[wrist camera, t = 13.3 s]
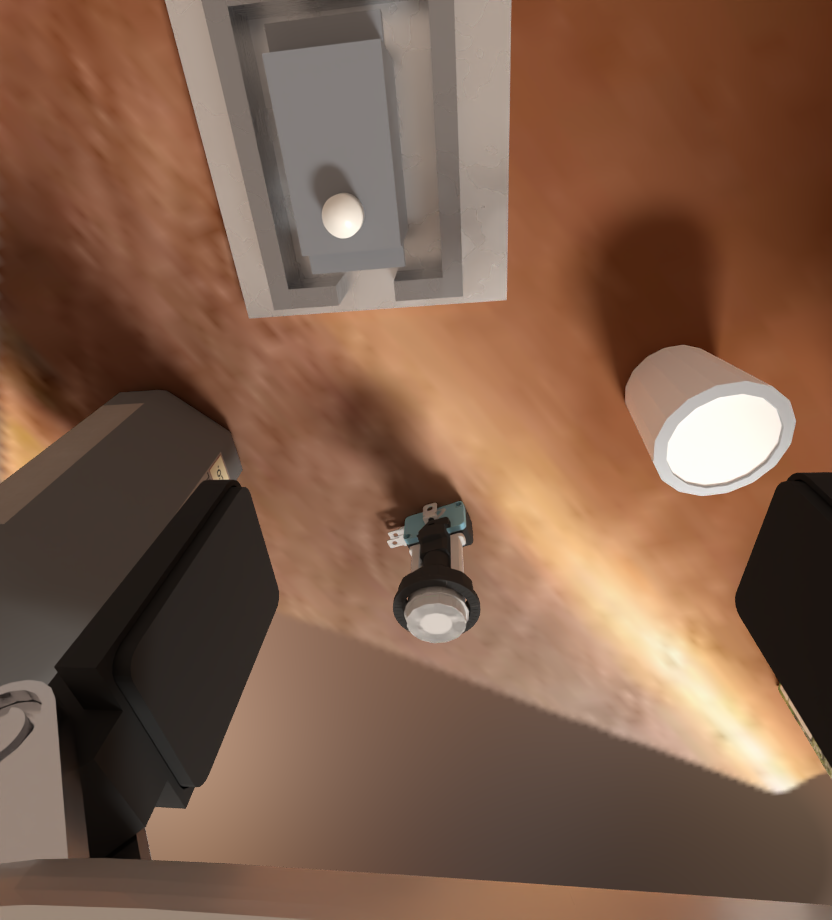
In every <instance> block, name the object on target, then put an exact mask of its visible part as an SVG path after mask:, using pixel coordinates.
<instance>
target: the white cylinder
mask: <svg viewBox="0 0 832 920" xmlns="http://www.w3.org/2000/svg"><path fill="white" fill-rule="evenodd" d="M625 403H626V406H627V408H628V410H629V412H630V414H631V416H632V418H633V420H634V423H635V425H636V427H637V429H638V431H639V433H640V435H641V437H642V440H643V442H644V444H645V446H646V448H647V450H648V452H649V454H650V456H651V459H652V461H653V463H654V465H655V467H656V469H657V471H658V473H659V475H660V477H661V479H662V480H663V481H664V482H666V483H667V484H669V485H670V486H671V487H673V488H674V489H676V490H677V491H679V492H684V493H689V494H694V495H699V496H706V495H714V494H722V493H728V492H731V491H733V490H736V489H738V488H740V487H743V486H745V485H748V484H750V483H753V482H754V481H756V480H757V479H758V478H760V477H761V476H762V475H763V474H765V473H766V472H767V471H769V470H770V469H771V468H773V467H774V466H775V465H776V464H777V463H778V461H779V460H780V458H781V457H782V456H783V454H784V453H785V451H786V450H787V449H788V447H789V446H790V444H791V441H792V436H793V432H794V428H795V424H796V419H795V416H794V413H793V410H792V406H791V403H790V401H789V400H788V399H787V398H786V397H785V396H783V395H782V394H781V393H780V392H779V391H777V390H776V389H775V388H774V387H773V386H771V385H769V384H767V383H765V382H763V381H761V380H759V379H757V378H756V377H754V376H752V375H750V374H748V373H746V372H744V371H742V370H740V369H739V368H737V367H735V366H733V365H731V364H729V363H727V362H725V361H723V360H722V359H720V358H718V357H716V356H714V355H712V354H710V353H708V352H706V351H705V350H703V349H701V348H697V347H692V346H687V345H678V346H672V347H666V348H663V349H661V350H659V351H657V352H655V353H653V354H652V355H650V356H648V357H646V358H645V359H644V360H643V361H642V362H641V363H640V364H639V365H638V366H637V367H636V368H635V369H634V370H633V372H632V374H631V376H630V378H629V380H628V382H627V385H626V387H625Z"/></svg>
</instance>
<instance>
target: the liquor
mask: <svg viewBox="0 0 832 920" xmlns="http://www.w3.org/2000/svg"><path fill="white" fill-rule="evenodd" d="M241 472H242V466H241V463H240V460H239V457H238V454H237V450H236V447H235V444H234V441H233V438H232V435H231V432H230V431H228V430H227V429H225V428H224V427H222V426H220V425H219V424H217V423H216V422H214V421H213V420H211V419H210V418H208V417H207V416H205V415H204V414H202V413H201V412H199V411H198V410H196V409H194V408H193V407H191V406H190V405H188V404H187V403H185V402H184V401H182V400H181V399H179V398H178V397H176V396H175V395H173V394H171V393H170V392H168V391H166V390H150V391H135V392H120V393H118V394H117V395H116V396H114V397H113V398H112V399H111V400H109V401H108V402H107V403H105V404H104V405H103V406H101V407H100V408H99V409H97V410H96V411H95V412H94V413H92V414H91V415H90V416H88V417H87V418H86V419H84V420H83V421H82V422H80V423H79V424H78V425H77V426H75V427H74V428H73V429H71V430H70V431H69V432H67V433H66V434H65V435H63V436H62V437H61V438H60V439H58V440H57V441H56V442H54V443H53V444H52V445H50V446H49V447H48V448H46V449H45V450H44V451H43V452H41V453H40V454H39V455H37V456H36V457H35V458H33V459H32V460H31V461H29V462H28V463H27V464H25V465H24V466H23V467H22V468H20V469H19V470H18V471H16V472H15V473H14V474H12V475H11V476H10V477H8V478H7V479H6V480H5V481H3V482H2V483H1V484H0V686H3V685H6V684H8V683H12V682H18V681H24V680H33V681H41V682H43V683H45V684H46V685H48V684H49V683H50V681H51V680H52V679H53V678H54V676H55V675H56V674H57V671H56V669H55V668H54V666H55V665H56V664H57V662H58V661H59V660H60V659H61V657H62V656H63V655H64V654H65V652H66V651H67V650H68V649H69V647H70V646H71V645H72V644H73V642H74V641H75V640H76V639H77V637H78V636H79V635H80V634H81V632H82V631H83V630H84V629H85V627H86V626H87V625H88V624H89V622H90V621H91V620H92V618H93V617H94V616H95V615H96V613H97V612H98V611H99V610H100V608H101V607H102V606H103V605H104V603H105V602H106V601H107V600H108V598H109V597H110V596H111V595H112V593H113V592H114V591H115V590H116V588H117V587H118V586H119V585H120V583H121V582H122V581H123V580H124V578H125V577H126V576H127V575H128V573H129V572H130V571H131V570H132V568H133V567H134V566H135V565H136V563H137V562H138V561H139V560H140V558H141V557H142V556H143V555H144V553H145V552H146V551H147V550H148V548H149V547H150V546H151V545H152V543H153V542H154V541H155V540H156V538H157V537H158V536H159V534H160V533H161V532H162V531H163V529H164V528H165V527H166V526H167V524H168V523H169V522H170V521H171V519H172V518H173V517H174V516H175V514H176V513H177V512H178V511H179V509H180V508H181V507H182V506H183V504H184V503H185V502H186V501H187V499H188V498H189V497H190V496H191V494H192V493H193V492H194V491H195V489H196V488H197V487H198V486H199V484H200V483H201V482H203V481H204V480H237V478H238V477H239V475H240V473H241Z"/></svg>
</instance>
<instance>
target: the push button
mask: <svg viewBox="0 0 832 920" xmlns="http://www.w3.org/2000/svg"><path fill="white" fill-rule="evenodd" d="M429 507H433V509H432V510H429V511H427V509H428V508H429ZM394 533H397V534H398V536H394V535H393V534H394ZM388 534H389V536H390V538H391V539H390V540H388V541H387V543H388V544H389V546H390V548H394V547H398V546H401V545H404V546H408V548H409V552H410V554H411V556H412V561H411V573H410V574H408V575H407V576H405V577H404V578H403V579H402V581H401V583H400V585H399V588H398V592H397V593H396V595H395V598H394V603H393V612H394V616H395V618H396V620H397V621H398V623H399V624H400V625H401V626H402V627H403V628H405V629H406V630H408V631H409V632H411V633H412V635H414V636H416V637H417V638H418V639H420V640H423V641H427V642H431V643H441V642H448V641H451V640H453V639H456V638H458V637H459V636H460V635H461V634H462V633H464V632H466V631H468V630H469V629H470V628H472V627H473V626H474V624H475V623H476V622H477V620H478V618H479V615H480V601H479V598H478V596H477V594H476V592H475V591H474V590H473V585H472V581H471V579H470V578H469V577H467V576H466V575H465V574H464V566H463V547H464V546H468V545H471V544H472V543H473V531H472V522H471V520H470V518H469V515H468V513H467V511H466V509H465V507H464V504H463V502H462V501H458V502H455V503H452V504H449V505H446V506H442V507H439V508H437V503H432V504H428V505H425V506H424V507H423V512H422V513H418V514H415V515H412V516H409V517H407V518H406V519H405V526H403V527H400V529H398V530H395V531H391V532H389V533H388ZM393 541H396V542H397V544H393V543H392V542H393ZM407 597H408V600H407V599H406V598H407ZM465 598H466V599H467V601H466V602H465Z"/></svg>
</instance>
